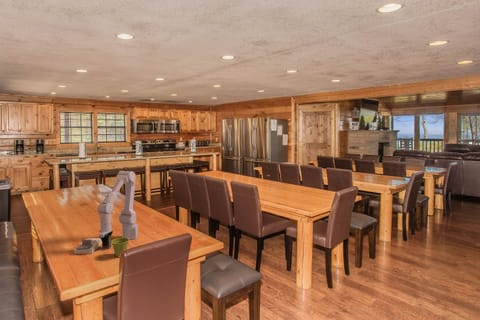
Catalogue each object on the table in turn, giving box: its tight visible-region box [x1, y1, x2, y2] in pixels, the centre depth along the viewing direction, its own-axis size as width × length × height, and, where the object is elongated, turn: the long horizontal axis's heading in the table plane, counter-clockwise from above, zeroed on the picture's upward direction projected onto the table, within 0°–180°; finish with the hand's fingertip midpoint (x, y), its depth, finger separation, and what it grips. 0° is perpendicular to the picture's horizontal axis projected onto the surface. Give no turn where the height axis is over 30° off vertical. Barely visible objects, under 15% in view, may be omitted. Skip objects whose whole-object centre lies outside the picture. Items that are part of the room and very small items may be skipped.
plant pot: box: [111, 237, 130, 258], centre depth 177 cm, size 9×9×9 cm
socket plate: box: [73, 237, 102, 255], centre depth 188 cm, size 10×18×2 cm, turn 6°
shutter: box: [76, 238, 92, 250], centre depth 181 cm, size 6×7×3 cm
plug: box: [101, 234, 112, 250], centre depth 187 cm, size 4×4×8 cm
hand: (106, 244), depth 188 cm, fingers closed on plug, 3 cm apart
